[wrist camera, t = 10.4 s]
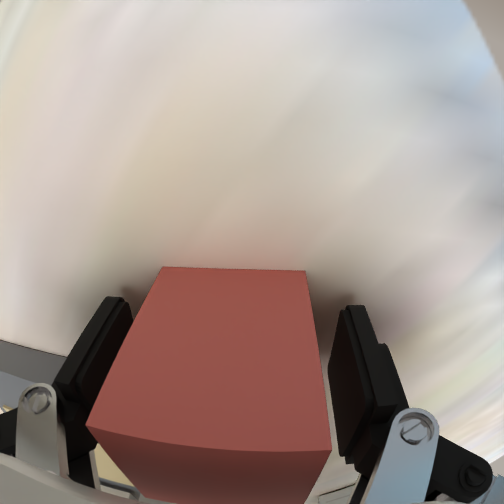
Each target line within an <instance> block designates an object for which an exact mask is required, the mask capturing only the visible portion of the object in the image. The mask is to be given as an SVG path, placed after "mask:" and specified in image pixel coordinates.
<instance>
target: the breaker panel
mask: <svg viewBox="0 0 504 504" xmlns="http://www.w3.org/2000/svg"><path fill="white" fill-rule="evenodd" d="M66 359H67V357H63V356H58V355H54V354H50V353H45V352H41V351H37V350H33V349H30V348H26V347H22V346H19V345H15V344H11V343H8V342H5V341H1V340H0V408H1V409H2V410H3V412H4V413H5V412H7V411H10V410H12V409H15V408H17V407H18V402H19V398H20V396H21V394H22V392H23V391H24V390H25V389H26V388H27V387H29V386H31V385H33V384H36V383H45V384H49V385H50V386H51V385H52V383H53V381H54V379H55V377H56V375H57V374H58V372H59V370H60V369H61V367H62V365H63V364H64V362H65V360H66ZM94 453H95V459H96V465H97V471H98V476H99V481H100V485H103V486H106V487H109V488H113V489H116V490H120V491H124V492H128V493H130V494H131V495H132V496H133V497H135V498H136V499H137V500H138V501H140V502H145V503H149V504H176V503H170V502H164V501H159V500H154V499H150V498H145V497H144V496H143V495H142V494H141V493H140V492H139V490H138V489H137V488H136V487H135V486H134V485H133V484H132V483H131V482H130V481H129V479H128V478H127V477H126V476H125V475H124V474H123V473H122V471H121V470H120V469H119V468H118V467H117V466H116V464H115V463H114V462H113V461H112V460H111V458H110V457H109V456H108V455H107V453H106V452H105V451H104V450H103V448H102V447H101V446H100V444H98V443H97V446H96V448H95V449H94Z"/></svg>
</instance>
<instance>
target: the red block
mask: <svg viewBox="0 0 504 504" xmlns="http://www.w3.org/2000/svg"><path fill="white" fill-rule="evenodd" d="M85 425H86V427H87V428H88V430H89V431H90V432H91V434H92V435H93V436H94V438H95V439H96V440H97V442H98V443H99V444H100V446H101V447H102V448H103V450H104V451H105V452H106V453H107V455H108V456H109V457H110V458H111V460H112V461H113V462H114V463H115V464H116V466H117V467H118V468H119V469H120V470H121V471H122V473H123V474H124V475H125V476H126V477H127V478H128V479H129V481H130V482H131V483H132V484H133V485H134V486H135V487H136V488H137V489H138V490H139V492H140V493H141V494H142V495H143V496H144V497H145V498H150V499H154V500H159V501H164V502H170V503H176V504H304V503H305V501H306V499H307V498H308V496H309V494H310V492H311V490H312V488H313V487H314V485H315V483H316V481H317V479H318V477H319V475H320V473H321V471H322V469H323V467H324V465H325V463H326V461H327V459H328V457H329V455H330V453H331V451H332V445H331V436H330V428H329V420H328V412H327V405H326V397H325V390H324V383H323V376H322V369H321V362H320V356H319V349H318V343H317V337H316V330H315V324H314V318H313V312H312V307H311V301H310V295H309V289H308V284H307V278H306V273H305V271H292V270H251V269H216V268H186V267H162V269H161V271H160V272H159V274H158V276H157V278H156V280H155V282H154V283H153V285H152V287H151V289H150V291H149V293H148V295H147V297H146V299H145V300H144V302H143V304H142V306H141V308H140V310H139V312H138V314H137V316H136V318H135V320H134V322H133V324H132V326H131V328H130V330H129V332H128V334H127V336H126V338H125V340H124V342H123V344H122V346H121V348H120V350H119V352H118V354H117V356H116V358H115V360H114V362H113V364H112V367H111V369H110V371H109V373H108V375H107V377H106V379H105V382H104V384H103V386H102V388H101V390H100V392H99V395H98V397H97V399H96V401H95V404H94V406H93V408H92V411H91V413H90V415H89V417H88V420H87V422H86V424H85Z"/></svg>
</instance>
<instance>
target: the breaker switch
mask: <svg viewBox="0 0 504 504" xmlns="http://www.w3.org/2000/svg"><path fill="white" fill-rule="evenodd" d="M100 486H101V491H103V492H106V493H110V494H113V495H117V496H120V497H124V498H128V499H132V500H136V501H138V500H137V499H136V498H135V497H133V496H132V495H131V494H130V493H128V492H124V491H120V490H116V489H113V488H109V487H106V486H103V485H100Z"/></svg>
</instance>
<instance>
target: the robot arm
mask: <svg viewBox="0 0 504 504" xmlns="http://www.w3.org/2000/svg"><path fill="white" fill-rule="evenodd" d="M133 322H134V321H133V318H132V314H131V310H130V307H129V304H128V302H125V301H124V299H123V298H121V297H110V296H108V297H106V298H105V299H104V300H103V302H102V303H101V305H100V306H99V308H98V309H97V311H96V312H95V314H94V316H93V317H92V319H91V320H90V322H89V323H88V325H87V326H86V328H85V329H84V331H83V333H82V334H81V336H80V337H79V339H78V341H77V342H76V344H75V345H74V347H73V349H72V350H71V352H70V354H69V355H68V357H67V359H66V360H65V362H64V364H63V365H62V367H61V369H60V370H59V372H58V374H57V375H56V377H55V379H54V381H53V383H52V385H51V386H50V385H49V384H45V383H36V384H33V385H31V386H29V387H27V388H26V389H25V390H24V391H23V392H22V394H21V396H20V398H19V402H18V407H17V408H15V409H12V410H10V411H7V412H5V413H3V414H0V504H149V503H145V502H140V501H136V500H132V499H128V498H124V497H120V496H117V495H113V494H110V493H106V492H103V491H101V486H100V481H99V476H98V471H97V465H96V459H95V453H94V449H95V448H96V446H97V443H98V442H97V440H96V439H95V438H94V436H93V435H92V434H91V432H90V431H89V430H88V428H87V427H86V425H85V424H86V422H87V420H88V417H89V415H90V413H91V411H92V408H93V406H94V404H95V401H96V399H97V397H98V395H99V392H100V390H101V388H102V386H103V384H104V382H105V379H106V377H107V375H108V373H109V371H110V369H111V367H112V364H113V362H114V360H115V358H116V356H117V354H118V352H119V350H120V348H121V346H122V344H123V342H124V340H125V338H126V336H127V334H128V332H129V330H130V328H131V326H132V324H133ZM328 379H329V385H330V391H331V398H332V405H333V412H334V419H335V426H336V433H337V441H338V449H339V455H340V457H343V456H345V461H346V464H354V467H355V470H356V471H357V472H359V473H360V474H359V476H358V478H357V481H356V483H355V486H354V488H353V490H352V492H351V495H350V497H349V499H348V501H347V503H346V504H504V477H503V476H501V475H499V474H498V475H497V476H494V475H493V472H492V469H491V466H490V465H489V463H488V462H487V461H486V460H484V459H483V458H481V457H479V456H477V455H476V454H474V453H472V452H470V451H468V450H466V449H464V448H462V447H460V446H458V445H457V444H455V443H453V442H451V441H449V440H447V439H445V438H444V437H442V436H440V435H439V425H438V423H437V420H436V419H435V418H434V416H433V415H432V414H430V413H429V412H428V411H425V410H423V409H420V408H409V405H408V402H407V399H406V396H405V393H404V390H403V387H402V384H401V382H400V379H399V376H398V373H397V370H396V367H395V365H394V362H393V359H392V356H391V354H390V351H389V348H388V346H387V345H386V344H385V343H383V344H378V341H377V338H376V335H375V332H374V330H373V327H372V324H371V322H370V319H369V316H368V314H367V311H366V308H365V306H364V305H348V306H346V309H345V310H341V311H340V314H339V319H338V324H337V328H336V333H335V338H334V342H333V347H332V351H331V355H330V360H329V364H328ZM98 444H99V443H98Z"/></svg>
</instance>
